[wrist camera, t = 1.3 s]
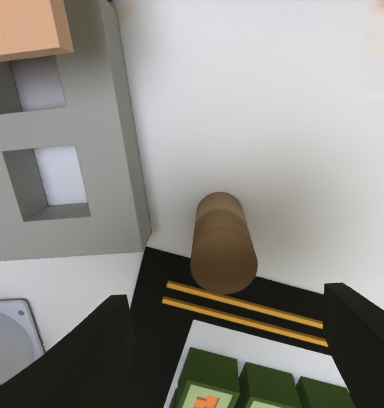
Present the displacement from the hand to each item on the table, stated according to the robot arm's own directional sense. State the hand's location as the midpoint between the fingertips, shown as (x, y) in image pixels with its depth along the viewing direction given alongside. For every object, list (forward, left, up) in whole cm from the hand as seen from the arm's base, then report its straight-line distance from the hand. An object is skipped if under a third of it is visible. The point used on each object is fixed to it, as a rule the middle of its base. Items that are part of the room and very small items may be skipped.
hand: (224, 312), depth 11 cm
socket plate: (+6, +10, -10) cm, 16 cm away
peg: (0, 0, -10) cm, 10 cm away
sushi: (-18, -2, -11) cm, 22 cm away
